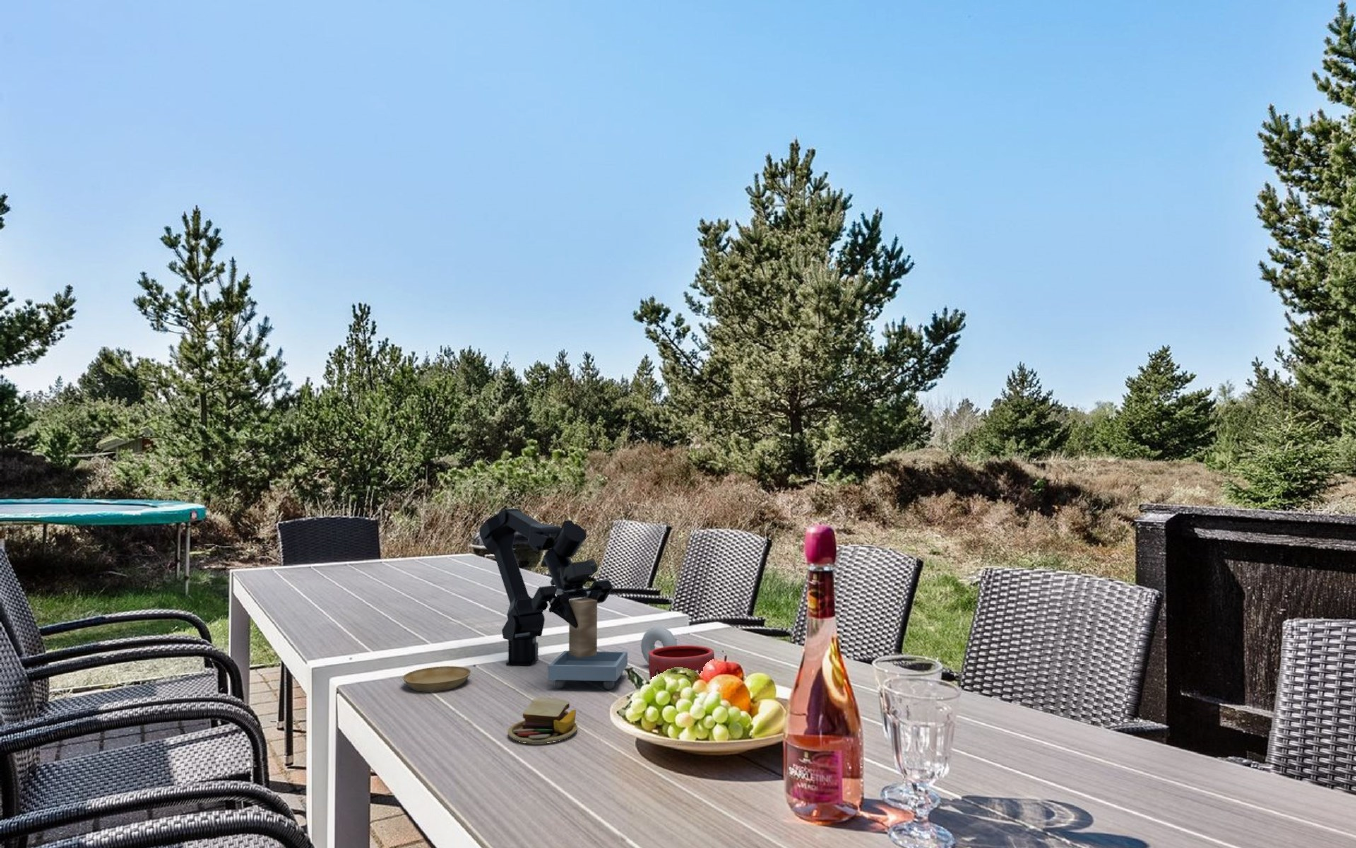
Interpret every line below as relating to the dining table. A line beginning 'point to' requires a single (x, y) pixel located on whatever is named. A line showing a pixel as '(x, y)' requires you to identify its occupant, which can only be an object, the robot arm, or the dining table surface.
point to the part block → (583, 628)
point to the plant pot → (679, 658)
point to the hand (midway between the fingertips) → (586, 625)
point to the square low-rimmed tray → (588, 668)
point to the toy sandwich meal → (545, 722)
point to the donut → (653, 636)
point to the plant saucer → (436, 678)
